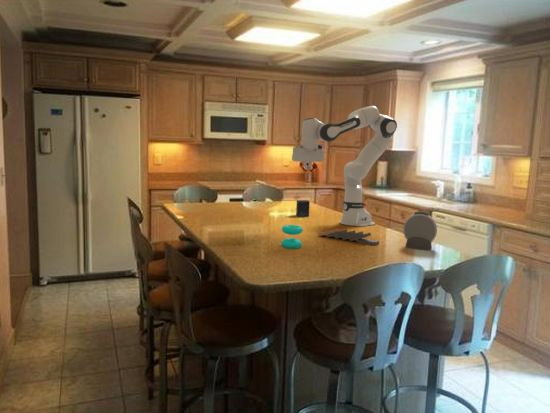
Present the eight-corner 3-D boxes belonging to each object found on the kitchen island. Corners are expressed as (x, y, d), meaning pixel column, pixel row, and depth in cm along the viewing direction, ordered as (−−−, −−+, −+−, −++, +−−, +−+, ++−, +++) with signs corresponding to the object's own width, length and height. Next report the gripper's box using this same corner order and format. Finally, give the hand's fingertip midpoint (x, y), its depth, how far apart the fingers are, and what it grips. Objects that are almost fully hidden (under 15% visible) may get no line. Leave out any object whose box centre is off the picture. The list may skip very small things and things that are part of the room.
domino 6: (356, 239, 246) (374, 242, 240) (360, 238, 250) (378, 240, 244) (356, 242, 246) (374, 245, 241) (360, 241, 250) (378, 244, 245)
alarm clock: (435, 247, 243) (438, 211, 240) (435, 251, 233) (438, 214, 231) (402, 243, 248) (405, 209, 246) (401, 247, 239) (404, 211, 236)
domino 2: (326, 234, 255) (342, 230, 250) (330, 233, 260) (346, 229, 254) (327, 237, 255) (343, 233, 250) (331, 236, 259) (347, 232, 254)
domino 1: (318, 233, 258) (333, 229, 252) (322, 232, 262) (338, 228, 256) (318, 236, 258) (334, 232, 252) (323, 235, 262) (339, 231, 256)
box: (306, 215, 329) (307, 200, 327) (309, 216, 323) (309, 201, 322) (295, 215, 327) (296, 199, 326) (297, 216, 322) (298, 201, 320)
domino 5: (349, 238, 248) (365, 233, 242) (353, 236, 252) (370, 232, 246) (350, 241, 248) (366, 236, 242) (354, 239, 252) (371, 235, 246)
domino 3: (334, 236, 253) (350, 231, 247) (338, 234, 257) (354, 230, 251) (335, 238, 253) (351, 234, 247) (339, 237, 257) (355, 233, 251)
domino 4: (341, 237, 251) (358, 232, 245) (346, 235, 255) (362, 231, 249) (342, 240, 250) (359, 235, 245) (347, 238, 254) (363, 234, 249)
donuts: (284, 223, 234) (304, 225, 232) (283, 243, 236) (303, 245, 234) (280, 227, 224) (301, 228, 223) (279, 248, 226) (300, 249, 224)
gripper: (296, 145, 271) (294, 169, 273) (325, 146, 281) (324, 170, 283) (290, 145, 277) (289, 168, 279) (320, 146, 286) (318, 169, 288)
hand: (307, 169), depth 281 cm, fingers closed
